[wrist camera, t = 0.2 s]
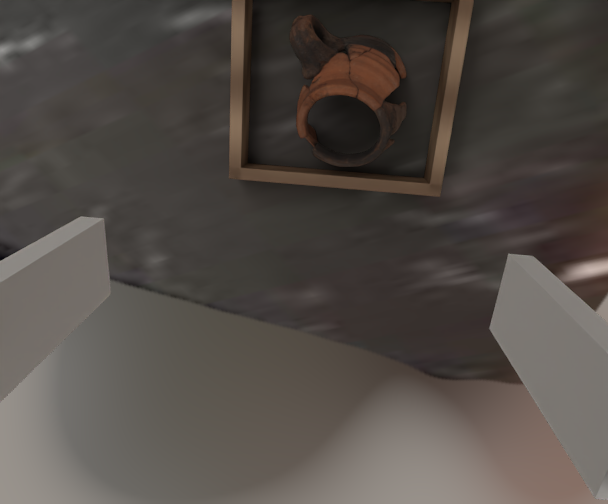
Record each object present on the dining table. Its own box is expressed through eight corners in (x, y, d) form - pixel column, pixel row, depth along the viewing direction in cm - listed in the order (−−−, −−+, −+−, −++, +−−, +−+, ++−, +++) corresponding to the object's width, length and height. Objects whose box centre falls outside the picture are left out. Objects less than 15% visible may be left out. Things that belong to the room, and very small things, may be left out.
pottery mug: (434, 85, 38) (428, 140, 33) (351, 140, 44) (334, 194, 39) (342, -37, 33) (317, 5, 28) (263, 45, 39) (230, 91, 34)
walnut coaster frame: (241, -25, 36) (232, -35, 34) (466, -11, 35) (477, -21, 32) (236, 173, 42) (229, 178, 39) (433, 189, 41) (440, 196, 38)
